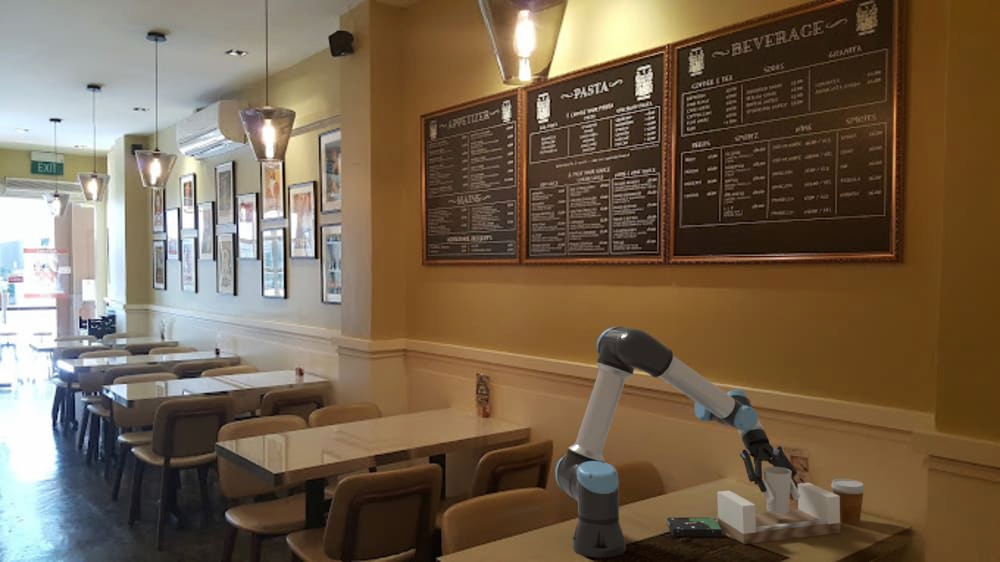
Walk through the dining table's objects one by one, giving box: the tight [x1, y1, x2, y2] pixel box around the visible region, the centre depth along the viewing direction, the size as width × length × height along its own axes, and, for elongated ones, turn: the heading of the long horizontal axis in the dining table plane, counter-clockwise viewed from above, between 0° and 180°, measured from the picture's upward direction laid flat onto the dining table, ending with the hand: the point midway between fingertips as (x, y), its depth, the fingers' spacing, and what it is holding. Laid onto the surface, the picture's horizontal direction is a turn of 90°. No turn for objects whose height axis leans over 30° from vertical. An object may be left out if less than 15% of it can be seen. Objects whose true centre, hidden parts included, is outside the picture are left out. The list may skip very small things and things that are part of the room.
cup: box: [762, 466, 792, 514], centre depth 211 cm, size 8×8×12 cm
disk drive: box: [666, 517, 723, 537], centre depth 213 cm, size 10×3×15 cm
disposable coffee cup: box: [830, 478, 866, 526], centre depth 217 cm, size 10×10×12 cm
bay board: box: [717, 508, 841, 545], centre depth 211 cm, size 32×14×4 cm, turn 103°
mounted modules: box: [716, 482, 841, 534], centre depth 211 cm, size 32×14×8 cm, turn 103°
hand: (784, 499), depth 208 cm, fingers closed on cup, 8 cm apart
